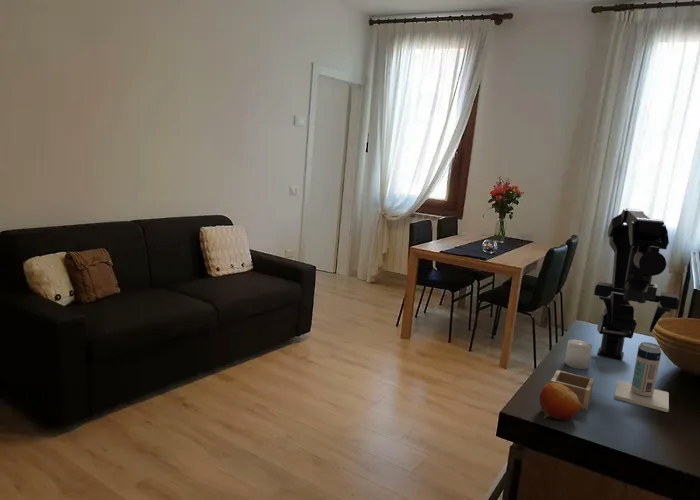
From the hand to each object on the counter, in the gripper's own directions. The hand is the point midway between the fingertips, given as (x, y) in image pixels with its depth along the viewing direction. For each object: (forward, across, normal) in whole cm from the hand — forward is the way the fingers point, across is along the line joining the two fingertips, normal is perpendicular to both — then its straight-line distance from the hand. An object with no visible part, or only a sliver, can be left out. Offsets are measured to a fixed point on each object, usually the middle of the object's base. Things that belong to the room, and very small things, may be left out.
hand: (630, 327), depth 138 cm
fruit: (+13, -10, -36) cm, 40 cm away
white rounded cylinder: (+13, -11, 0) cm, 17 cm away
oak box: (+13, -9, -26) cm, 30 cm away
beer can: (+12, +5, -12) cm, 18 cm away
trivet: (+13, +5, -12) cm, 18 cm away
